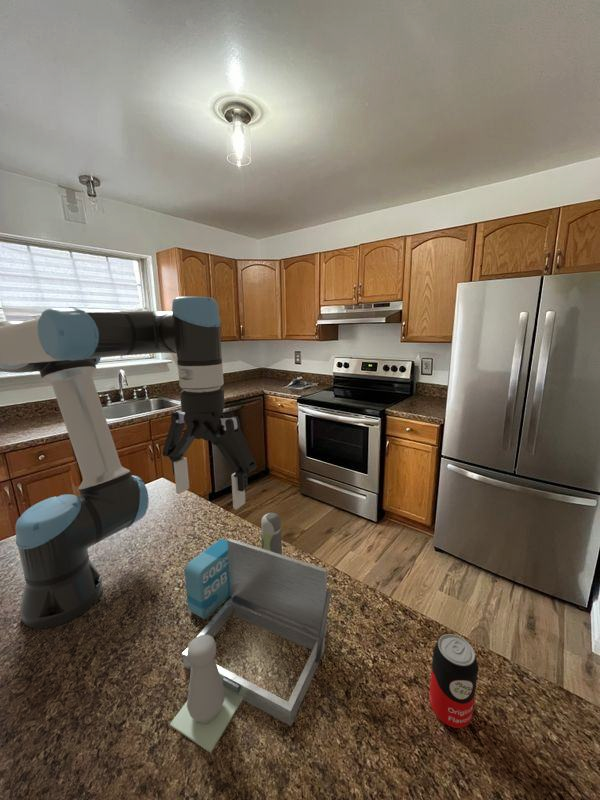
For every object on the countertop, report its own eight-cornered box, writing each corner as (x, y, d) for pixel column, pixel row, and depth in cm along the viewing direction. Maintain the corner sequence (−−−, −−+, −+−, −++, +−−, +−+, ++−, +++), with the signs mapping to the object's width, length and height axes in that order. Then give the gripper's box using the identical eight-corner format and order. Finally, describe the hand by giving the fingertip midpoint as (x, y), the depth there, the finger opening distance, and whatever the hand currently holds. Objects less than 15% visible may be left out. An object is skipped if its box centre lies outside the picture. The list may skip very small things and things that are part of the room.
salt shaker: (211, 683, 58) (206, 620, 56) (232, 706, 55) (228, 640, 52) (180, 713, 54) (173, 646, 51) (202, 740, 50) (195, 669, 48)
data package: (202, 623, 71) (198, 573, 68) (188, 613, 73) (183, 565, 71) (240, 586, 81) (238, 541, 78) (226, 579, 83) (223, 535, 81)
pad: (170, 725, 53) (169, 724, 53) (205, 678, 60) (205, 676, 60) (210, 753, 49) (210, 751, 49) (242, 699, 56) (242, 697, 56)
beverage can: (421, 709, 55) (427, 648, 52) (438, 681, 59) (444, 623, 56) (462, 743, 50) (470, 678, 48) (477, 710, 54) (485, 648, 52)
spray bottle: (269, 583, 82) (267, 507, 78) (287, 589, 80) (285, 512, 75) (258, 597, 78) (255, 518, 73) (276, 604, 75) (274, 523, 71)
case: (181, 669, 61) (173, 588, 58) (233, 606, 75) (229, 538, 71) (295, 733, 52) (294, 641, 48) (331, 647, 65) (332, 570, 62)
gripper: (134, 386, 62) (147, 493, 67) (248, 397, 51) (254, 523, 56) (166, 380, 69) (176, 478, 73) (273, 389, 58) (276, 502, 62)
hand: (210, 498), depth 65 cm, fingers open, 13 cm apart
